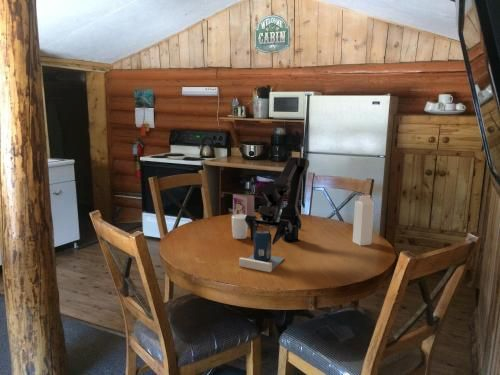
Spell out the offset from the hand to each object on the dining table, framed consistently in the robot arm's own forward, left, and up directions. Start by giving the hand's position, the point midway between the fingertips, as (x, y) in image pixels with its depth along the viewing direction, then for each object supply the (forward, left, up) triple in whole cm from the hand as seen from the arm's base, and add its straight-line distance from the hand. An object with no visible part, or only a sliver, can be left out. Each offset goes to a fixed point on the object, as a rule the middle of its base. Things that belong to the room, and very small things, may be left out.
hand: (261, 242), depth 161 cm
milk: (-52, -9, -9) cm, 53 cm away
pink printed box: (-11, -55, -9) cm, 57 cm away
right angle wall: (-25, -45, -9) cm, 53 cm away
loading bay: (-1, -1, -9) cm, 9 cm away
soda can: (-1, -1, -8) cm, 8 cm away
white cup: (-2, -34, -9) cm, 35 cm away
